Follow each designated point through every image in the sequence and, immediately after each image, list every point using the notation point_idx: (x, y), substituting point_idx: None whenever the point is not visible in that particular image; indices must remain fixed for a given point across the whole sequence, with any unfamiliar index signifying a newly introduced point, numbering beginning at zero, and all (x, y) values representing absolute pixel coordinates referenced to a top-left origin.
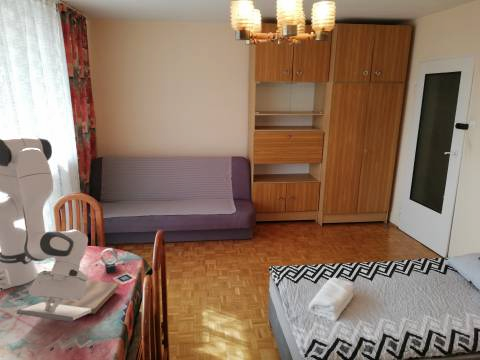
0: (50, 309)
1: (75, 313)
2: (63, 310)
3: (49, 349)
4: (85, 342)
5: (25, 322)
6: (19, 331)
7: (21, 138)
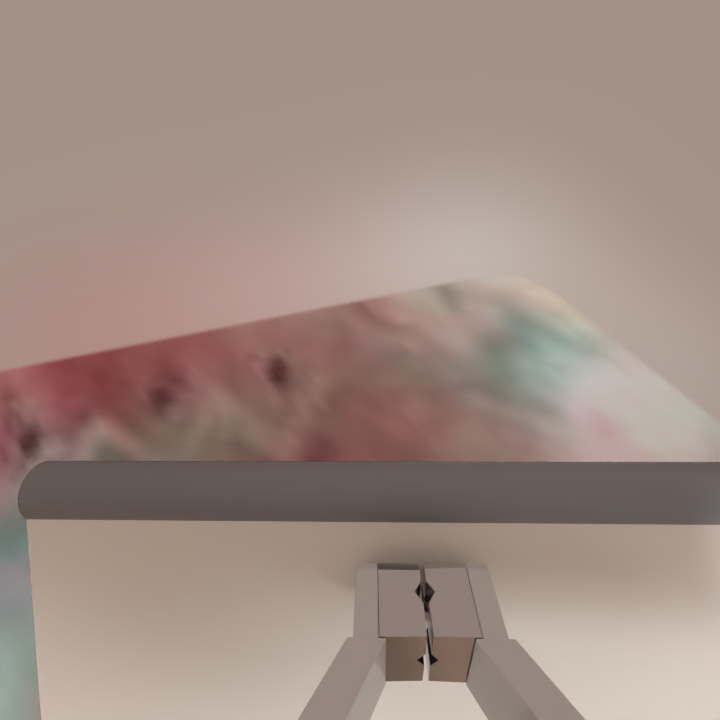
0: (387, 577)
1: (96, 656)
2: None
3: (292, 362)
4: None
5: None
6: None
7: None
